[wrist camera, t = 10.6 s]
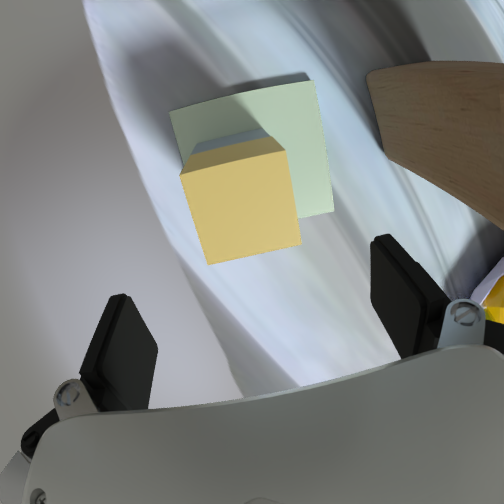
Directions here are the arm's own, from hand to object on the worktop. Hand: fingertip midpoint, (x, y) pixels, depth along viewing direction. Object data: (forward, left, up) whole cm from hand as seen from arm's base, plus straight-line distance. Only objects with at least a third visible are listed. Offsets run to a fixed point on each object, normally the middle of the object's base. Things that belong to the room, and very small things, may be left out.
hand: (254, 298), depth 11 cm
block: (-3, +20, -22) cm, 30 cm away
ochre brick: (0, 0, -15) cm, 15 cm away
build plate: (0, +2, -22) cm, 22 cm away
